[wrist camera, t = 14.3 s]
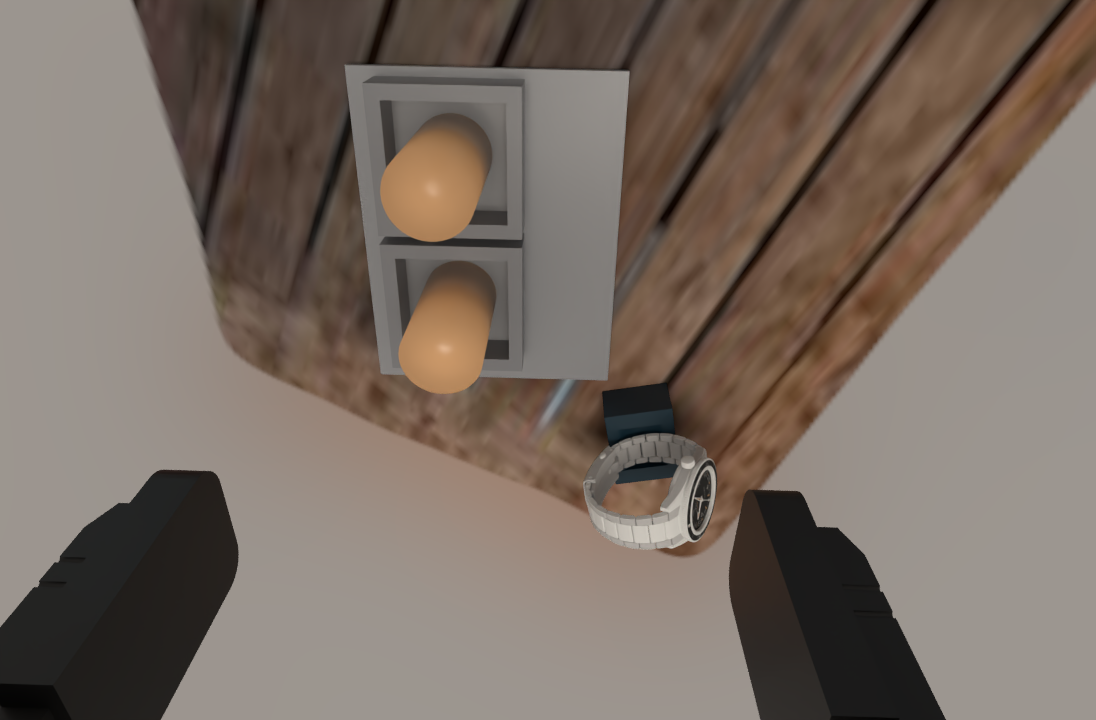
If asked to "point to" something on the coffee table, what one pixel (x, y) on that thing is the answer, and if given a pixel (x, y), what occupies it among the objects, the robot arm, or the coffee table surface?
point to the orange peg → (449, 329)
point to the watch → (650, 471)
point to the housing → (495, 203)
